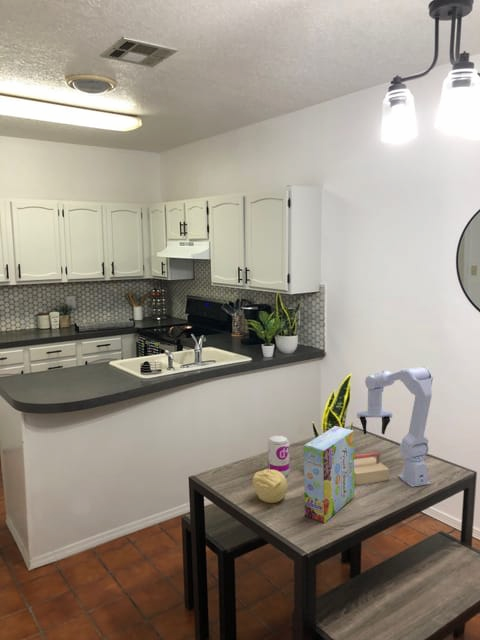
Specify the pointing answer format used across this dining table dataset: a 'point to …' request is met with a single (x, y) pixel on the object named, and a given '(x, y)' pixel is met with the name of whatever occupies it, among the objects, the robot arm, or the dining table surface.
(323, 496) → the snack box
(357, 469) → the carton
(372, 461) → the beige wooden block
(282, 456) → the supplement can
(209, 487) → the dining table surface
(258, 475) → the pale yellow round lump
